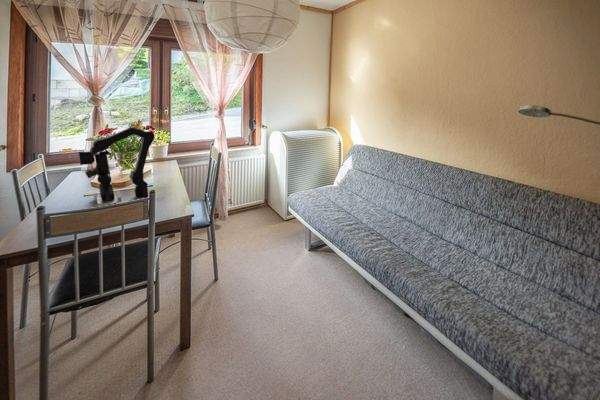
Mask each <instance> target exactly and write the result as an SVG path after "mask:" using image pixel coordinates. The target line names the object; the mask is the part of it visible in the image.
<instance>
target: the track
mask: <svg viewBox="0 0 600 400" xmlns="http://www.w3.org/2000/svg"><path fill="white" fill-rule="evenodd" d="M114 196H115V198H114V199H113V200H110V201H102V200H101V196H99V195H98V193H93V202H94V207H101V206H102V205H103V206H109V205H108V204H111V205H115V204H114V203H119V202H122V203H123V201H122V196H121V192H120V190H116V195H115V194H114ZM119 204H120V203H119ZM103 206H102V207H103Z"/></svg>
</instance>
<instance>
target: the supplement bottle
mask: <svg viewBox="0 0 600 400" xmlns="http://www.w3.org/2000/svg"><path fill="white" fill-rule="evenodd" d="M98 189H99V195H100V196H99V197H101V200H102V201H110V200H113V199H114V198H115V196H114V195H115V192H114V186H113V183H112V182H111V183H110V186H109V189H108V192H105V190H104V187H103V185H102V184H101V183H99V184H98Z"/></svg>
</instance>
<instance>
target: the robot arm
mask: <svg viewBox="0 0 600 400" xmlns="http://www.w3.org/2000/svg"><path fill="white" fill-rule="evenodd" d="M131 136H137V137H140V150H139V152H138V156H137V159H136V160H137V161H136V164H135V168H134V169H133V170H132V169H131V170H130V174H129V179H130V181H131V183H132V184H133V185H134V195H135V197H136V199H140V198H149V197H148V195H149V189H148V185H149V184H148V183H147V182H146V181H145V180H144V168H145V164H146V160H147V157H148V154H149V153H148V152H149V149H150V146H151V145H152V144H153V142H154V140H155V137H156V136H155V133H154V132H152V131H151V130H148V129H144V130H142V129H140V128H136V127H134V126H129V127H128V128H125V129H122V130H121V131H118V132H117V133H114V134H112V135H110V136H107V137H102V138H97V139H95V140H93V142H92V147H91V148H90V150H89V151H78V160H79V165H81V166H84V165H93V164H94V163H95V164H96V165H95V167H93V168H91V169H88V170H86V171H85V175H86V176H87V178H88V179H91V178H93V177H94V176H97V182H98V183H99V184H102V185H103V187H104V190H105V192H108V189H109V186H110V183H112V176H111V170H110V166H109V161H108V155H112V153H111V152H110V151H109V150H108V148H109V147H111V146H112V145H113V144H115V143H118V142H119V141H122V140H124V139H126V138H129V137H131Z"/></svg>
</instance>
